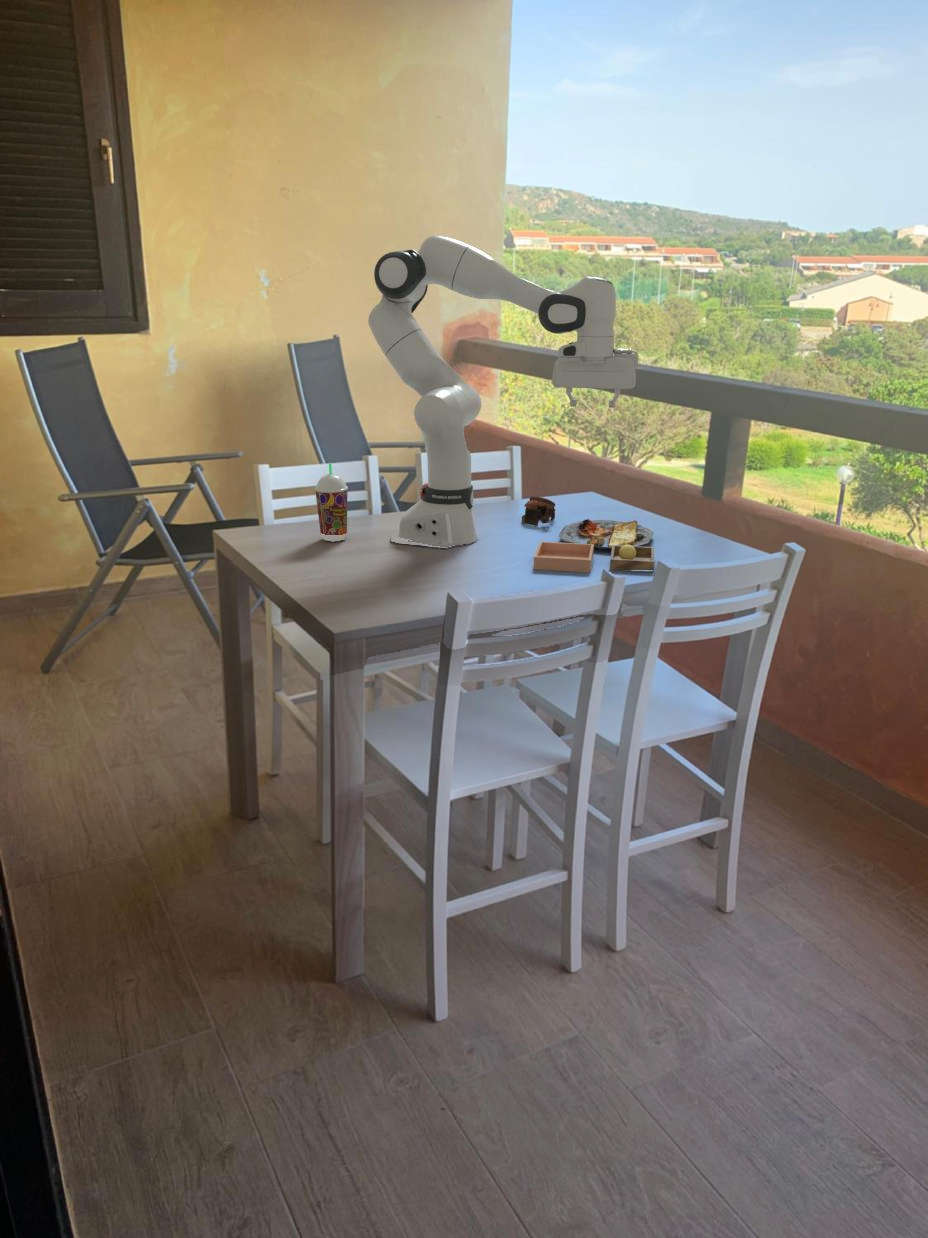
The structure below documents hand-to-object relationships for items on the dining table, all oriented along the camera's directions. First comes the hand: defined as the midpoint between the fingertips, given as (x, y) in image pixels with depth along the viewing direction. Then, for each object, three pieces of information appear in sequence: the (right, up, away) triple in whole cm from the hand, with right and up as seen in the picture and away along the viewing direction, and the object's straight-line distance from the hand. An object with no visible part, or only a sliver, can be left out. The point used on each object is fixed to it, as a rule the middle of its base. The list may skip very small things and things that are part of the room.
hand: (592, 406), depth 224 cm
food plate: (+5, -32, +13) cm, 35 cm away
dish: (-8, -39, -5) cm, 40 cm away
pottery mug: (-11, -26, +29) cm, 40 cm away
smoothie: (-66, -32, +14) cm, 74 cm away
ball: (+7, -36, -7) cm, 38 cm away
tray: (+8, -39, -6) cm, 40 cm away
